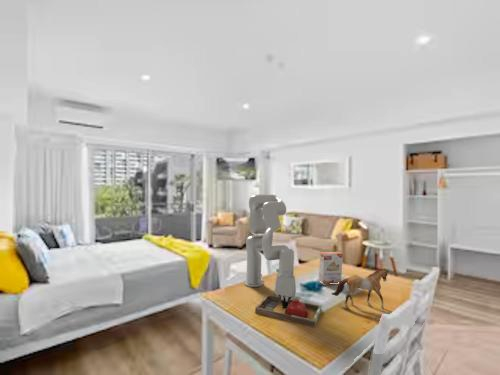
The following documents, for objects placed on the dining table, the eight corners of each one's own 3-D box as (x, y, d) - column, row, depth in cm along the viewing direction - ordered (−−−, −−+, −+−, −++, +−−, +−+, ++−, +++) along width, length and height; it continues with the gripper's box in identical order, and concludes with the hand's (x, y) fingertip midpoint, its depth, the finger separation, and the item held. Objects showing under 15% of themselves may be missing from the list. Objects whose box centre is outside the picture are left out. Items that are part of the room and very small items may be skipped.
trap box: (267, 298, 155) (267, 294, 155) (321, 310, 142) (321, 305, 142) (255, 312, 138) (255, 307, 138) (314, 327, 126) (314, 321, 126)
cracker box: (323, 286, 176) (324, 254, 176) (318, 282, 182) (319, 251, 182) (341, 284, 180) (342, 253, 180) (336, 281, 186) (337, 251, 185)
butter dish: (306, 323, 130) (307, 306, 129) (282, 319, 133) (283, 302, 133) (309, 313, 140) (309, 296, 140) (287, 309, 144) (287, 293, 144)
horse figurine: (385, 303, 153) (386, 267, 152) (392, 310, 145) (394, 272, 145) (330, 302, 152) (332, 266, 152) (335, 309, 145) (336, 271, 144)
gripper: (270, 272, 140) (269, 307, 141) (298, 277, 134) (297, 314, 135) (274, 268, 147) (273, 301, 148) (302, 273, 141) (300, 308, 141)
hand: (284, 307), depth 141 cm, fingers closed
